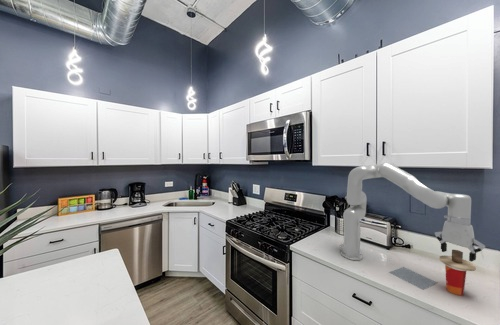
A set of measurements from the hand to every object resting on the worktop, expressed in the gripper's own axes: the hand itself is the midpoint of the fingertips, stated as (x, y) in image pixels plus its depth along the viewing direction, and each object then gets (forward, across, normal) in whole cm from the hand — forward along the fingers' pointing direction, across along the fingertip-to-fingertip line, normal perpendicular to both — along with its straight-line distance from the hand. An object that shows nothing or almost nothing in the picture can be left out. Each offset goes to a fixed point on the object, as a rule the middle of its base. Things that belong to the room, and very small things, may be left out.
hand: (457, 255), depth 95 cm
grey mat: (+18, -15, -6) cm, 24 cm away
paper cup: (+18, 0, 0) cm, 18 cm away
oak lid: (+4, 0, 0) cm, 4 cm away
